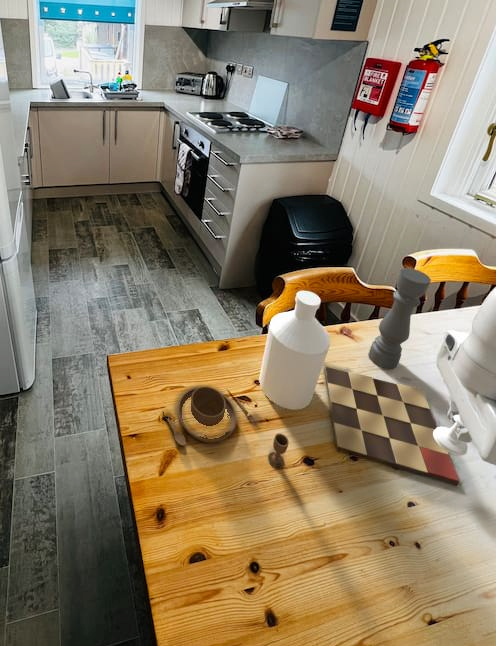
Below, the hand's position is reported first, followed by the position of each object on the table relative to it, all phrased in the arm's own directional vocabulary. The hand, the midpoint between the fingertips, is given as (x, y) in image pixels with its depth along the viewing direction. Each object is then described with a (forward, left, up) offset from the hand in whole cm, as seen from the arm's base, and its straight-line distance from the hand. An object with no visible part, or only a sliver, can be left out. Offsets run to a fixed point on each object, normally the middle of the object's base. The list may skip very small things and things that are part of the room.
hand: (457, 428), depth 69 cm
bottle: (+26, -10, -11) cm, 30 cm away
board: (+7, -8, -11) cm, 15 cm away
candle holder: (+3, -26, -11) cm, 28 cm away
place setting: (+39, +6, -11) cm, 42 cm away
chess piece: (0, 0, -4) cm, 4 cm away
